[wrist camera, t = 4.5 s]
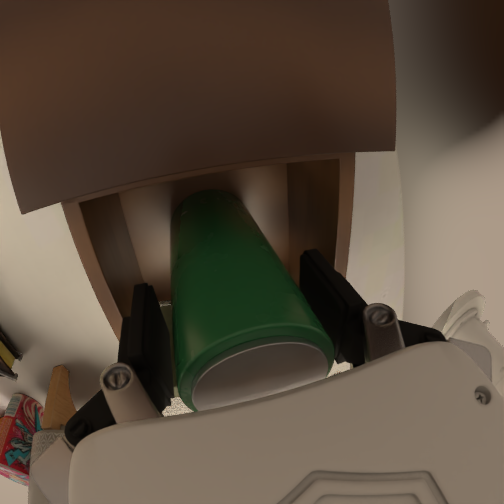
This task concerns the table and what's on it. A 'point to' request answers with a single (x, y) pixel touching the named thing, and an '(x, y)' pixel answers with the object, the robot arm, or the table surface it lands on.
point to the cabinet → (186, 87)
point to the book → (7, 358)
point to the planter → (51, 424)
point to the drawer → (187, 183)
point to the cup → (19, 437)
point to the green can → (236, 309)
